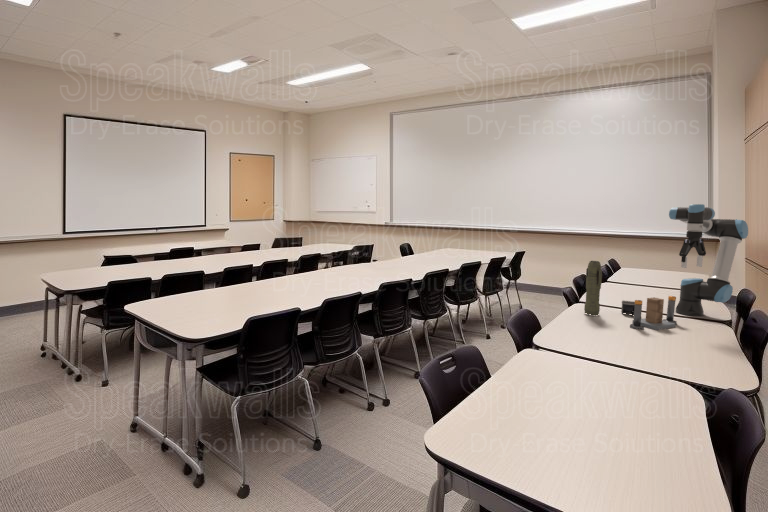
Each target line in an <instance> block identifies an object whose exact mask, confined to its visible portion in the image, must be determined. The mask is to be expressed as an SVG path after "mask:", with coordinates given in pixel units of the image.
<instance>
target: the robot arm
mask: <svg viewBox="0 0 768 512" xmlns="http://www.w3.org/2000/svg"><path fill="white" fill-rule="evenodd" d="M668 216H669V219H671V220H677V221H680V222H683V223H685V224H686V237H685V238H688V239H683V244H682V246H681V249H680V251H679V253H678V256H679V257H681V261H680V263H681V265H680V268H681V269H682V268H683V269H687V267H688V255H689V253H690V251H691V250H692V249H693V248H694V249H695V250H696V253H697V256H696V267H697V268H698V267H700V268H702V267H703V259H704V257H705V256H706V254H707V251H706V247H705V243H704V241H705V240H704V238H703V234H704V235H707V236H710V237H713V238H718V240H719V241H720V244H719V247H718V249H717V250H718V251H717V253H716V258H715V262H714V265H713V268H712V269H713V270H712V272H711V276H710V277H708V278H707V280H706V281H705V280H704V279H703V278H700V277H699V278H696V277H694V278H683V279H682V280H681V282H680V289H679V293H680V294H679V301H678V303H677V305H676V306H675V313H676V314H680V315H685V316H690V317H691V316H693V317H694V316H695V317H702V316H704V312H705V311H704V308H703V305H702V300H703V301H710V302H715V303H720V304H721V303H723V304H724V303H726V302H727V301H728V302H729V300H730V299H731V298H732V295H733V292H734V291H733V290H734V287H733V286H732V285H731V282H730V280H729V278H730V274H731V270H732V267H733V262H734V259H735V256H736V252H737V248H738V244H741V243H742V241H743V240H744V239H747V238H748V235H749V226H748V223H747V222H746V220H745V219H744V220H743V219H731V218H730V219H726V218H725V219H721V218H714V217H715V216H716V212H715V210H714V209H713V208H711V207H705V204H702V203H700V204H699V203H698V204H694V203H692V204H689V206H688V207H683V206H682V207H681V206H680V207H675V206H674V207H671V208H670V209H669V211H668Z"/></svg>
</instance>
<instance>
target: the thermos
mask: <svg viewBox="0 0 768 512" xmlns="http://www.w3.org/2000/svg"><path fill="white" fill-rule="evenodd" d="M587 264H588V265H587V268H586V274H585V289H586V290H585V303H584V308H583V309H584V313H587V314H591V315H598V314H599V315H600V311H601V308H600V307H601V304H600V294H601V293H600V292H601V289H602V279H603V270H602V265H601V262H600V261H598V260H590V261H589V262H588V263H587Z"/></svg>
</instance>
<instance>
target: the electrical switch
mask: <svg viewBox="0 0 768 512" xmlns="http://www.w3.org/2000/svg"><path fill="white" fill-rule="evenodd" d="M634 308H635V300H634V301H633V300H632V301H631V300H624V299H623V300H621V311H620V312H621V314H622V315H624V314H623V313H626V314H632V315H631V316H633V315H634Z"/></svg>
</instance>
